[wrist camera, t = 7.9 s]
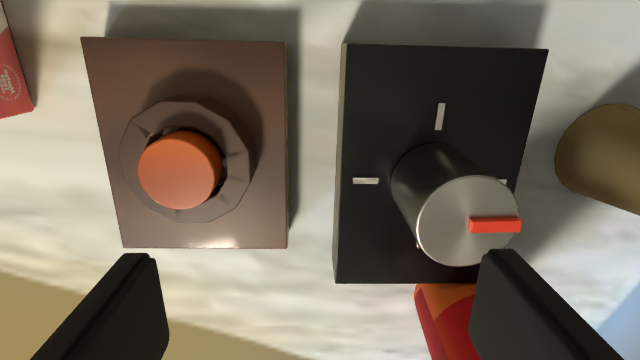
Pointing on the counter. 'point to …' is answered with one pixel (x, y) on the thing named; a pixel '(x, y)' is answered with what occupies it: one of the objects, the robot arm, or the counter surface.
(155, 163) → the button
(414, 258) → the panel
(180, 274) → the counter surface
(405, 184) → the knob
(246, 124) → the button block
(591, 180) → the cork
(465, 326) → the paper cup
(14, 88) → the ink cartridge box
